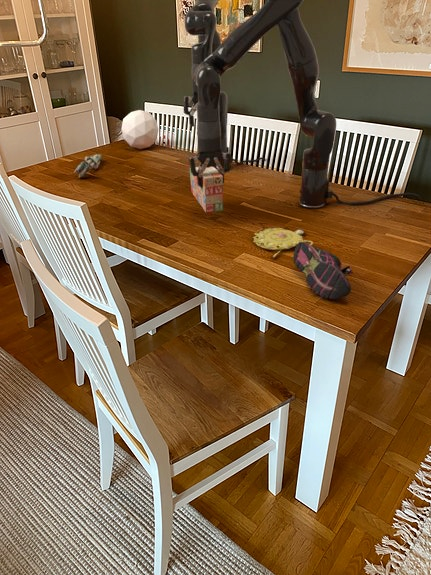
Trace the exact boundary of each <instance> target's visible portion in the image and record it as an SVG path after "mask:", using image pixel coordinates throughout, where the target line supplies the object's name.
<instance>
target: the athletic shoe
mask: <svg viewBox="0 0 431 575" xmlns="http://www.w3.org/2000/svg"><path fill="white" fill-rule="evenodd" d="M292 261H293V264H294V266H295V267H296V269H298V270H299V271H300V272H302V273H304V274H305V276H306V282H307V285H308V286H309V288H310V289H312V292H313V293H314V294H315V295H317V296H319V297H321V298H324V299H330V300H337V299H341V298H346V297H348V296H349V295H350V294H351V292H352V287H351V284H350V282H349V280H348V278H347V277H346V275H351V274H354V272H353V269H352V268H351V266H350V265H347V266H345V267H343V266H342V265H343V264H342V261H341V260H340V258H339V257H338V256H336V255H334V254H333V253H331V252H329V251H327V250H323V249H321V248H318V247H315V246H313V245H312V246H310V243H308V242H299V243H298V244H297V245H296V246H295V247H294V252H293V256H292ZM342 267H343V268H342Z"/></svg>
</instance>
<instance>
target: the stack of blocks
mask: <svg viewBox="0 0 431 575" xmlns="http://www.w3.org/2000/svg"><path fill="white" fill-rule="evenodd" d="M195 167H196V171H198V169H199V166H195ZM202 177H203V188H200V186H199V185H198V183H197V176H193V174H192V173H191V168H190V167H189V178H190V191H191V193H192V195H193V197H194V198H195V200H196V201H197V202H198V203H199V204H200V206H201V208H202V209H203V211H204V212H205V214H208V213H214V212H216V213H217V212H221V211H224V195H223V194H224V183H223V176H222V175H221V174H220V172H219V171H217V170H216V169H215V168H214V167H209V168H206V169H205V171H204V172H203V175H202Z"/></svg>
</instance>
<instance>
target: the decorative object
mask: <svg viewBox="0 0 431 575" xmlns="http://www.w3.org/2000/svg"><path fill="white" fill-rule="evenodd" d="M304 234H305V231H304V230H302V229H297V230H295V231H293V230H289V229H284V228H282V227H273V228H268V229H267V228H264V229H263V230H260V231H259V232H256V233H254V234H253V235H254V236H253V237H252V239H253V241H252V242H253V243H255V245H256V246H258V247H260V248H262V249H265V250H274V251H277V252H276V253H274V254H273V255H272V258H274V259H275V258H276V257H277V256H278V254H279V253H280V252H282V251H283V250H289V249H291V248H296V246H297V244H298V243H299V242H306V243H309V245H310V246H313V245H314V242H313V241H312V240H306V239H304V237H303V235H304Z"/></svg>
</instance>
